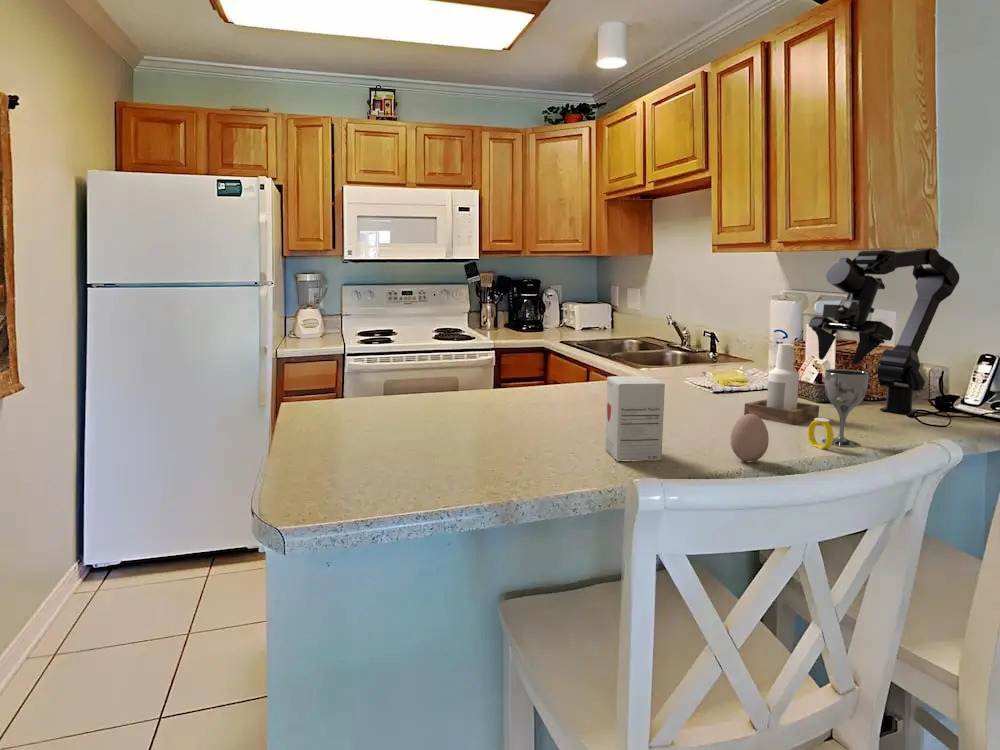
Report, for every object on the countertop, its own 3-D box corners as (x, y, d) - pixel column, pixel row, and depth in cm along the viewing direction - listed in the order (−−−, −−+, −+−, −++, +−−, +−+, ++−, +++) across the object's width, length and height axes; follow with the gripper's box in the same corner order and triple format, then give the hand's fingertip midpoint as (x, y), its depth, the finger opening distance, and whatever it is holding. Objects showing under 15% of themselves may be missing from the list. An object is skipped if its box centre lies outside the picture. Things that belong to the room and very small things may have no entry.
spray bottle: (769, 412, 164) (774, 342, 162) (798, 416, 161) (803, 343, 158) (763, 417, 159) (767, 344, 156) (793, 421, 155) (798, 346, 152)
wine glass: (868, 448, 130) (875, 375, 128) (825, 446, 132) (831, 374, 130) (855, 439, 138) (861, 369, 136) (815, 437, 140) (820, 368, 137)
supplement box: (603, 449, 129) (606, 375, 127) (647, 448, 130) (650, 375, 128) (615, 462, 120) (618, 383, 118) (662, 461, 121) (666, 382, 119)
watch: (835, 452, 129) (839, 423, 128) (822, 452, 128) (826, 424, 127) (814, 442, 135) (818, 415, 133) (803, 443, 134) (806, 415, 133)
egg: (728, 455, 125) (731, 409, 124) (765, 458, 123) (768, 411, 122) (730, 464, 119) (733, 416, 118) (768, 468, 117) (772, 418, 116)
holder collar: (771, 409, 168) (771, 398, 168) (818, 417, 159) (819, 405, 158) (744, 415, 161) (744, 403, 160) (792, 424, 151) (792, 412, 151)
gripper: (805, 286, 159) (783, 346, 159) (875, 288, 142) (851, 355, 142) (833, 303, 164) (812, 360, 164) (904, 307, 147) (881, 371, 147)
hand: (837, 361), depth 154 cm, fingers open, 9 cm apart
